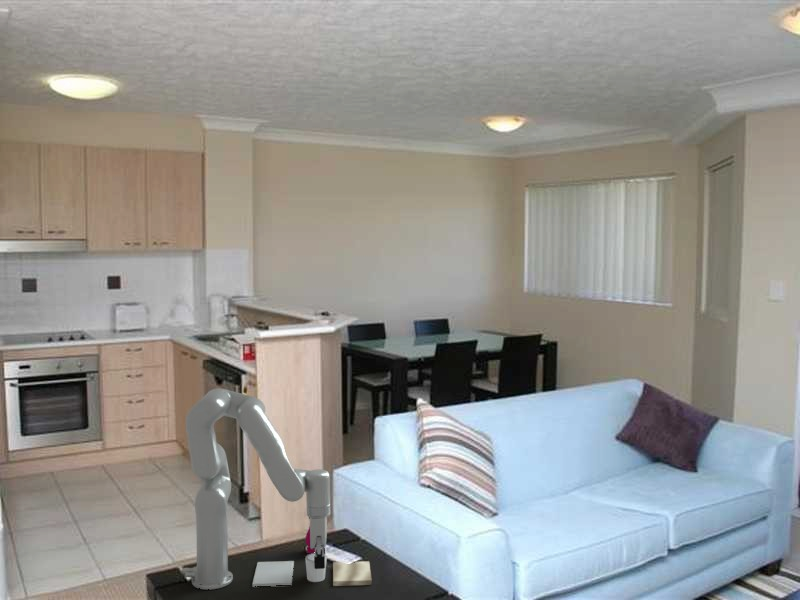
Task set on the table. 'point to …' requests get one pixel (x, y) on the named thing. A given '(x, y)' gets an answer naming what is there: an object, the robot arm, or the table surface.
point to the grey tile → (273, 573)
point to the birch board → (351, 574)
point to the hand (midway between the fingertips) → (319, 561)
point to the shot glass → (313, 573)
